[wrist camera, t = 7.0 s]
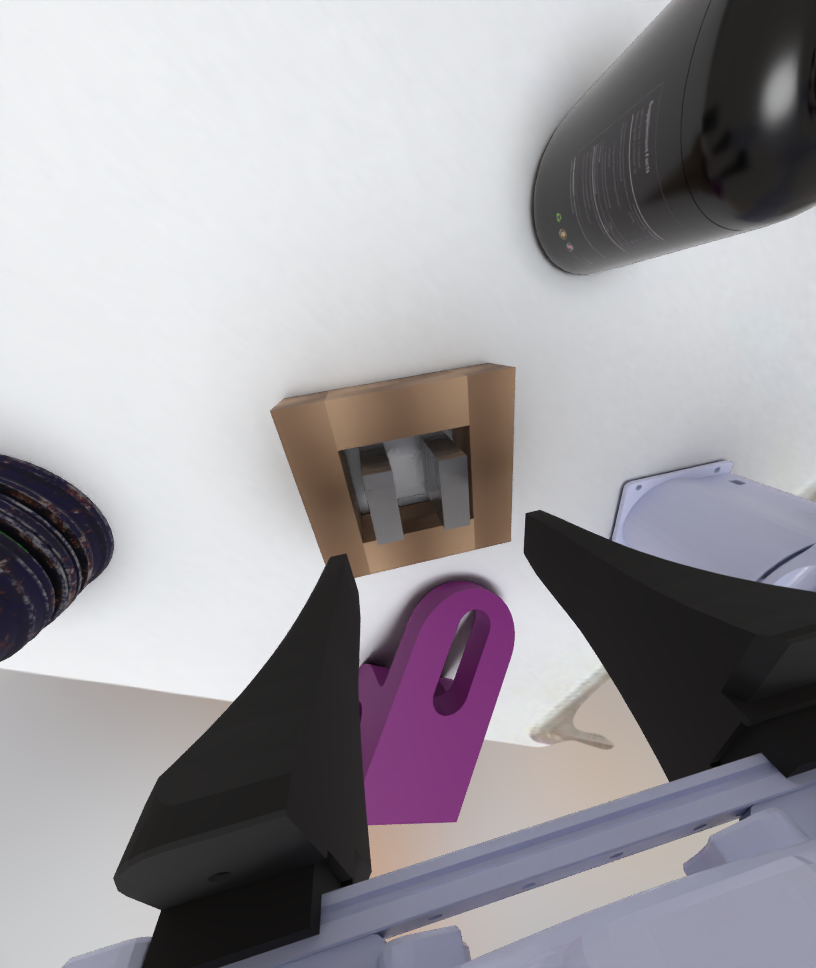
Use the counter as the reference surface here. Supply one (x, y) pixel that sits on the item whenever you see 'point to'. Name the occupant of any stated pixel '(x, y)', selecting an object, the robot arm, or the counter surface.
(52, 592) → the dark blue ribbed cylinder
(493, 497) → the well block
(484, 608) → the mounting bracket
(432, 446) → the bracket
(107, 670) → the counter surface
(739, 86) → the supplement bottle
